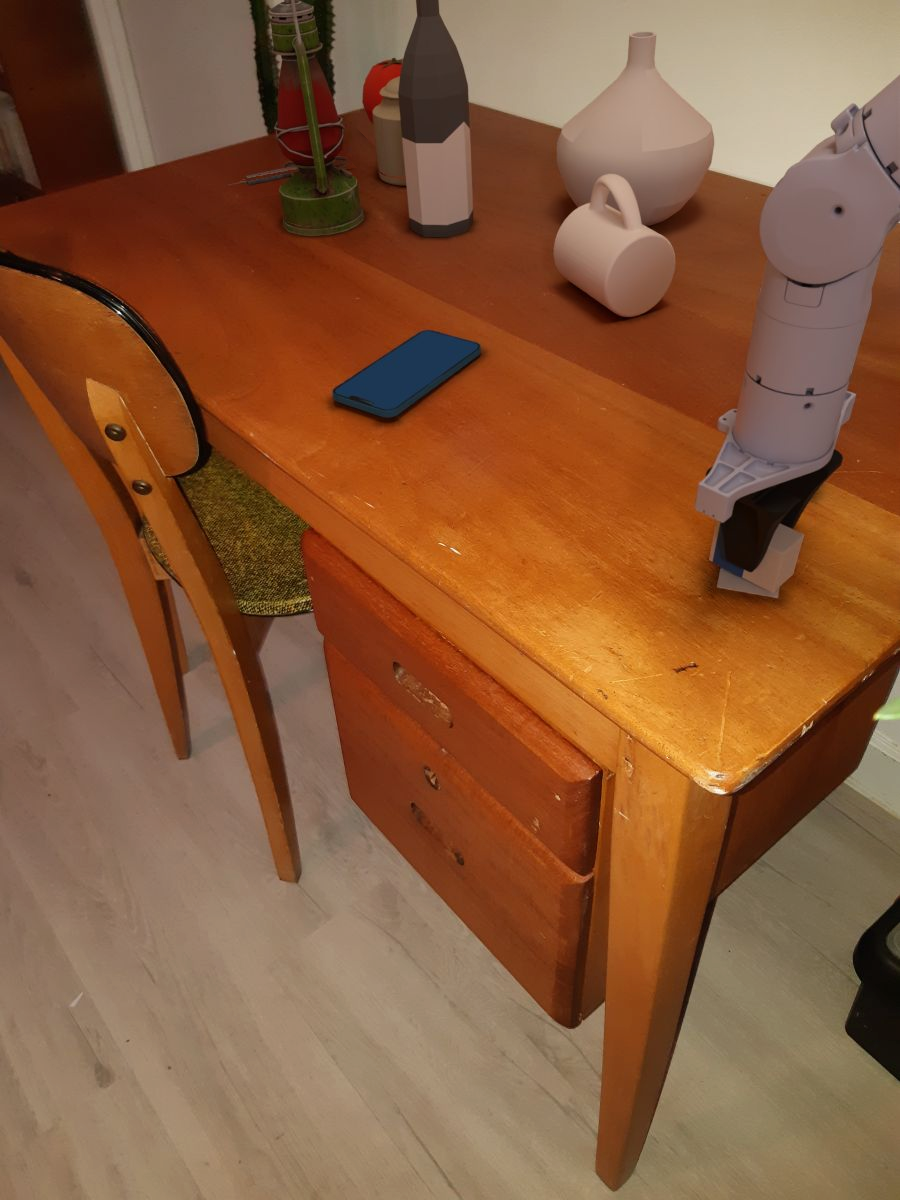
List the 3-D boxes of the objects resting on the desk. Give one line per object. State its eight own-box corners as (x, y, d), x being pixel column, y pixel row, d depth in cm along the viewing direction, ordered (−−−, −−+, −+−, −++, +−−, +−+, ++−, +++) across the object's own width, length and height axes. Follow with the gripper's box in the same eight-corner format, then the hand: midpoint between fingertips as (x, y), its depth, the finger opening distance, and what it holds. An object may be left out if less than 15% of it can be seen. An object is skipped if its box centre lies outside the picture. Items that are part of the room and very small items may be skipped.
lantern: (373, 232, 110) (338, -66, 90) (289, 246, 109) (233, -54, 88) (354, 196, 120) (319, -80, 99) (277, 208, 119) (225, -70, 98)
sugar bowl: (356, 164, 130) (341, 46, 120) (423, 149, 133) (414, 33, 123) (398, 192, 120) (386, 67, 110) (469, 175, 123) (464, 52, 113)
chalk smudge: (777, 598, 59) (778, 597, 59) (716, 587, 60) (716, 586, 60) (786, 526, 64) (787, 524, 64) (730, 517, 65) (730, 516, 65)
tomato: (452, 123, 142) (448, 49, 135) (400, 146, 135) (393, 69, 128) (400, 114, 147) (394, 43, 140) (347, 135, 140) (338, 61, 133)
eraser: (793, 574, 60) (805, 533, 57) (772, 594, 58) (783, 553, 56) (729, 542, 62) (738, 502, 60) (708, 561, 61) (715, 520, 59)
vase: (667, 253, 100) (688, 61, 87) (528, 227, 108) (528, 48, 95) (727, 199, 111) (754, 21, 98) (596, 179, 119) (605, 12, 106)
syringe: (222, 183, 127) (219, 171, 126) (339, 159, 132) (337, 147, 131) (235, 199, 122) (233, 186, 121) (357, 173, 127) (355, 161, 126)
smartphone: (485, 344, 85) (390, 413, 77) (485, 353, 86) (391, 423, 77) (424, 327, 89) (326, 392, 80) (425, 336, 89) (328, 401, 81)
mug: (602, 326, 88) (610, 203, 80) (551, 289, 95) (553, 171, 87) (671, 306, 91) (686, 184, 82) (616, 271, 98) (624, 155, 89)
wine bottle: (434, 210, 115) (413, -79, 94) (486, 219, 111) (477, -79, 90) (397, 231, 110) (367, -68, 89) (450, 243, 106) (432, -66, 86)
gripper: (800, 306, 56) (761, 480, 65) (662, 397, 49) (640, 578, 58) (909, 339, 52) (850, 520, 61) (776, 444, 45) (733, 629, 54)
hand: (754, 551), depth 60 cm, fingers closed on eraser, 3 cm apart
